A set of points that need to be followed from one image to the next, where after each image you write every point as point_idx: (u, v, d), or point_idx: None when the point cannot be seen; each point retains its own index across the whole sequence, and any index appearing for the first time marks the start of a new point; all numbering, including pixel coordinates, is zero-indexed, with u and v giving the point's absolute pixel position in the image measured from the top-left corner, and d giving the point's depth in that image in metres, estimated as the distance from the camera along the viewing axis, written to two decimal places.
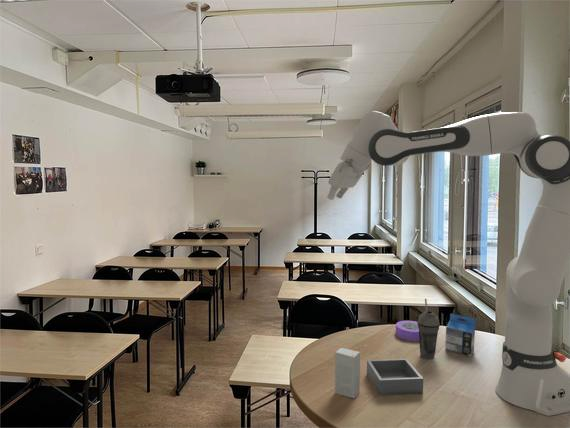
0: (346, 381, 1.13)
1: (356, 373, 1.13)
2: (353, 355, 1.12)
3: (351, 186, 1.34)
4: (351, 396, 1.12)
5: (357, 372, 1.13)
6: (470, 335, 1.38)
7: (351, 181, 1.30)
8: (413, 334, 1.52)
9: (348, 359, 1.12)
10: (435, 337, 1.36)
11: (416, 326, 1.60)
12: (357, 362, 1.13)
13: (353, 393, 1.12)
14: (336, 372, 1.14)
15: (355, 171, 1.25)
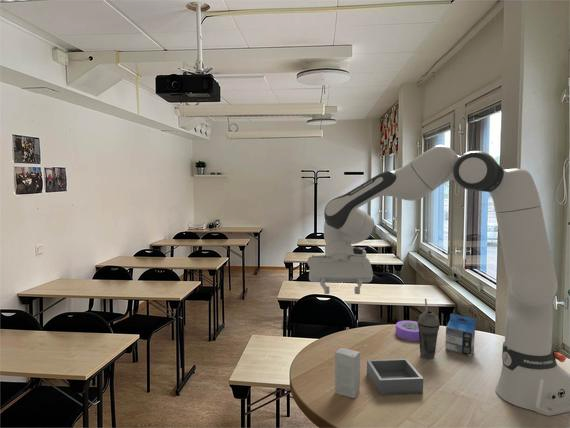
0: (346, 381, 1.13)
1: (356, 373, 1.13)
2: (353, 355, 1.12)
3: (360, 275, 1.27)
4: (351, 396, 1.12)
5: (357, 372, 1.13)
6: (470, 335, 1.38)
7: (348, 270, 1.28)
8: (413, 334, 1.52)
9: (348, 359, 1.12)
10: (435, 337, 1.36)
11: (416, 326, 1.60)
12: (357, 362, 1.13)
13: (353, 393, 1.12)
14: (336, 372, 1.14)
15: (333, 258, 1.30)
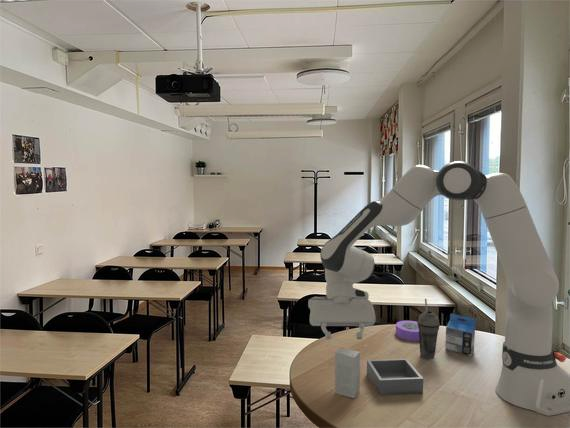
0: (346, 381, 1.13)
1: (356, 373, 1.13)
2: (353, 355, 1.12)
3: (362, 319, 1.23)
4: (351, 396, 1.12)
5: (357, 372, 1.13)
6: (470, 335, 1.38)
7: (350, 313, 1.25)
8: (413, 334, 1.52)
9: (348, 359, 1.12)
10: (435, 337, 1.36)
11: (416, 326, 1.60)
12: (357, 362, 1.13)
13: (353, 393, 1.12)
14: (336, 372, 1.14)
15: (335, 301, 1.27)
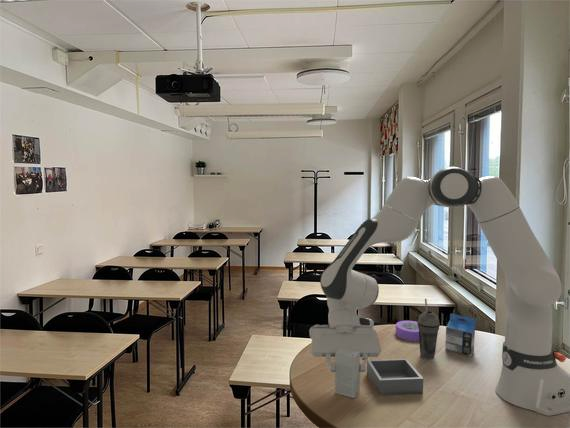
0: (346, 381, 1.13)
1: (356, 373, 1.13)
2: (353, 355, 1.12)
3: (367, 350, 1.16)
4: (351, 396, 1.12)
5: (357, 372, 1.13)
6: (470, 335, 1.38)
7: (354, 344, 1.17)
8: (413, 334, 1.52)
9: (348, 359, 1.12)
10: (435, 337, 1.36)
11: (416, 326, 1.60)
12: (357, 362, 1.13)
13: (353, 393, 1.12)
14: (336, 372, 1.14)
15: (338, 330, 1.19)
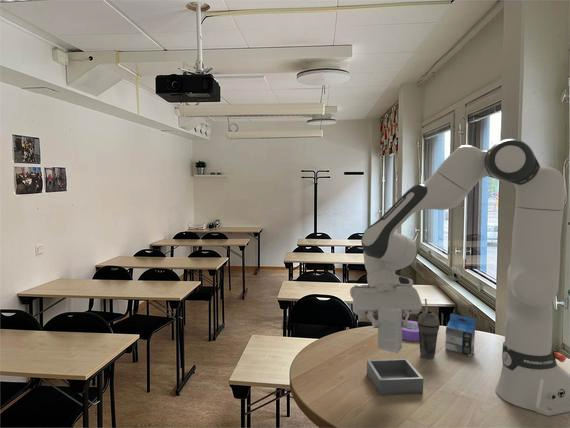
0: (389, 336, 1.16)
1: (399, 328, 1.16)
2: (396, 311, 1.15)
3: (408, 307, 1.19)
4: (395, 351, 1.15)
5: (400, 328, 1.16)
6: (470, 335, 1.38)
7: (395, 301, 1.20)
8: (413, 334, 1.52)
9: (392, 315, 1.15)
10: (435, 337, 1.36)
11: (416, 326, 1.60)
12: (400, 318, 1.16)
13: (397, 348, 1.15)
14: (380, 328, 1.17)
15: (378, 289, 1.22)
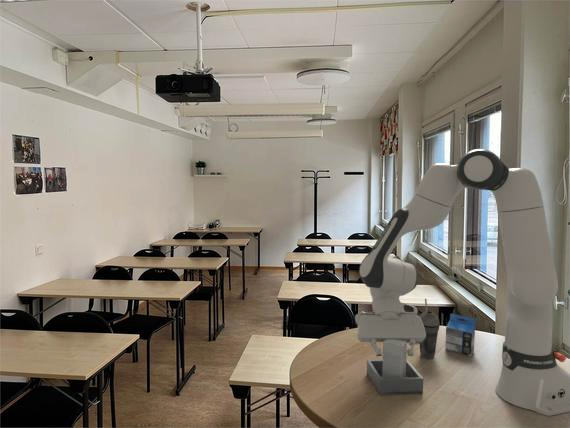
0: (394, 369, 1.18)
1: (404, 361, 1.18)
2: (401, 344, 1.17)
3: (413, 336, 1.21)
4: None
5: (404, 361, 1.18)
6: (470, 335, 1.38)
7: (399, 329, 1.22)
8: None
9: (397, 348, 1.17)
10: (435, 337, 1.36)
11: None
12: (405, 351, 1.18)
13: None
14: (384, 360, 1.19)
15: (383, 317, 1.24)
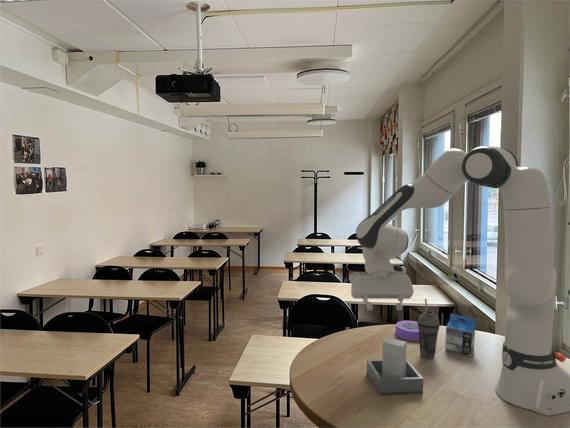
0: (393, 369, 1.18)
1: (403, 362, 1.18)
2: (400, 345, 1.17)
3: (401, 292, 1.32)
4: None
5: (404, 361, 1.18)
6: (470, 335, 1.38)
7: (389, 287, 1.34)
8: (413, 334, 1.52)
9: (396, 349, 1.17)
10: (435, 337, 1.36)
11: (416, 326, 1.60)
12: (404, 351, 1.18)
13: None
14: (384, 361, 1.19)
15: (375, 276, 1.36)
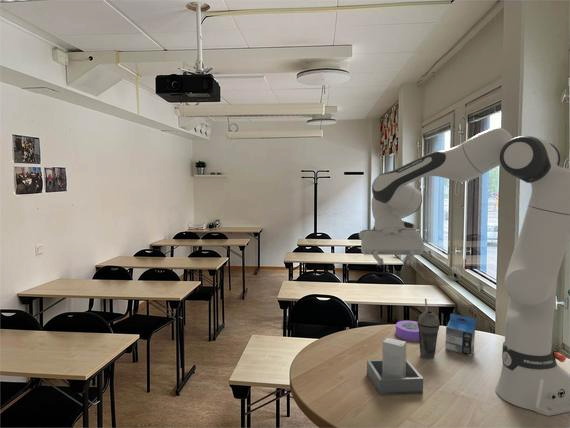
0: (393, 369, 1.18)
1: (403, 362, 1.18)
2: (400, 345, 1.17)
3: (412, 247, 1.31)
4: None
5: (404, 361, 1.18)
6: (470, 335, 1.38)
7: (400, 243, 1.32)
8: (413, 334, 1.52)
9: (396, 349, 1.17)
10: (435, 337, 1.36)
11: (416, 326, 1.60)
12: (404, 351, 1.18)
13: None
14: (384, 361, 1.19)
15: (385, 232, 1.34)
